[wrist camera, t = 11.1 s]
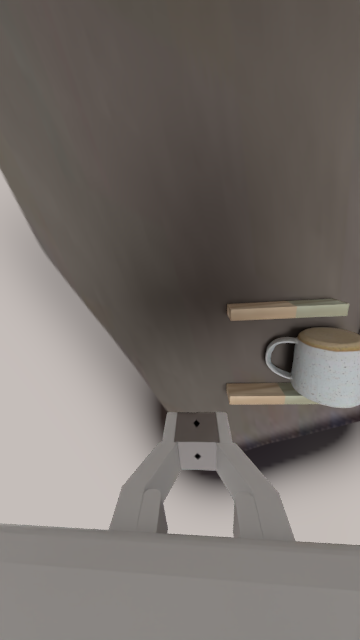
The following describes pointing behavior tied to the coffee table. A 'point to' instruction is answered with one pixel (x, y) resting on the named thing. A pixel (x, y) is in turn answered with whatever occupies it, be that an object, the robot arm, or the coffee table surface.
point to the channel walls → (277, 310)
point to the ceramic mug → (324, 365)
